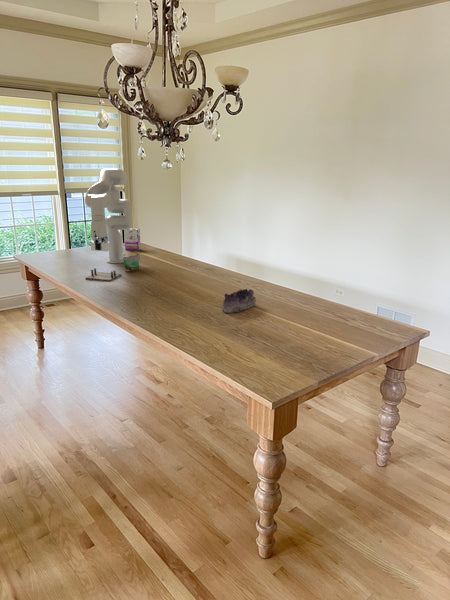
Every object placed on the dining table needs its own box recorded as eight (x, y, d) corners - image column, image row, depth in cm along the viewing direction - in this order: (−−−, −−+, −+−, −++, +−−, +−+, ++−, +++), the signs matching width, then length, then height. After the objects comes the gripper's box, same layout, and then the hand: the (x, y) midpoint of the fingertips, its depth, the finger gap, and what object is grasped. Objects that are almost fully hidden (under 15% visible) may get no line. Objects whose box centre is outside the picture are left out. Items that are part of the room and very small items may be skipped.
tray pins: (95, 273, 266) (94, 268, 264) (116, 275, 262) (115, 270, 261) (91, 275, 261) (90, 270, 260) (112, 277, 258) (112, 272, 257)
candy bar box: (140, 249, 342) (139, 228, 337) (138, 250, 338) (137, 229, 332) (127, 248, 344) (126, 227, 339) (125, 249, 339) (123, 228, 334)
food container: (130, 273, 271) (129, 258, 268) (123, 272, 275) (122, 256, 272) (144, 270, 281) (144, 254, 277) (138, 268, 284) (137, 253, 281)
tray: (98, 273, 270) (98, 271, 270) (121, 275, 266) (121, 274, 266) (85, 279, 258) (85, 277, 257) (109, 281, 254) (109, 279, 253)
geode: (237, 317, 202) (234, 296, 199) (217, 314, 209) (215, 294, 206) (260, 304, 217) (258, 285, 214) (241, 302, 224) (239, 283, 221)
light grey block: (95, 248, 261) (95, 240, 259) (110, 249, 258) (110, 241, 257) (91, 250, 256) (90, 241, 255) (106, 251, 254) (105, 243, 252)
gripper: (100, 216, 260) (103, 246, 266) (84, 219, 245) (86, 251, 250) (111, 216, 258) (113, 246, 264) (95, 220, 243) (98, 252, 248)
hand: (100, 248), depth 257 cm, fingers closed on light grey block, 5 cm apart
